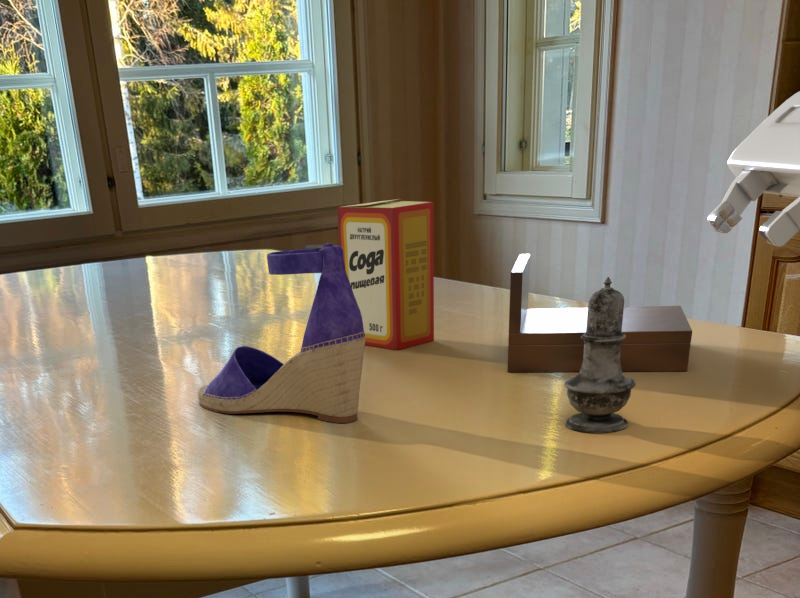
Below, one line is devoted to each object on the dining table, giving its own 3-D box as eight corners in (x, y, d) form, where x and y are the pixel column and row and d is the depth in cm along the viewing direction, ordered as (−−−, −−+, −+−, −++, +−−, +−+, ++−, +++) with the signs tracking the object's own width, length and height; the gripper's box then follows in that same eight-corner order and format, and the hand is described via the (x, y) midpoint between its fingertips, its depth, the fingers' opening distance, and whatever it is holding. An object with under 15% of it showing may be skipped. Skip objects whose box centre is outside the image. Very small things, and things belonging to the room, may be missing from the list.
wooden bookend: (676, 342, 106) (687, 247, 101) (687, 371, 94) (700, 266, 89) (516, 344, 110) (519, 254, 105) (507, 372, 98) (510, 272, 94)
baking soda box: (433, 340, 115) (433, 198, 108) (396, 350, 112) (393, 204, 104) (380, 332, 122) (376, 198, 114) (344, 341, 118) (337, 203, 110)
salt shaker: (646, 423, 79) (662, 274, 74) (599, 438, 77) (612, 285, 71) (593, 411, 84) (604, 269, 78) (547, 424, 81) (555, 279, 75)
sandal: (244, 388, 100) (229, 237, 93) (381, 415, 87) (376, 243, 80) (184, 405, 95) (163, 247, 88) (319, 437, 82) (308, 255, 75)
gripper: (799, 54, 76) (666, 195, 81) (960, 32, 58) (777, 215, 63) (841, 113, 78) (709, 246, 83) (1010, 109, 60) (829, 280, 65)
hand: (739, 233), depth 73 cm, fingers open, 8 cm apart
